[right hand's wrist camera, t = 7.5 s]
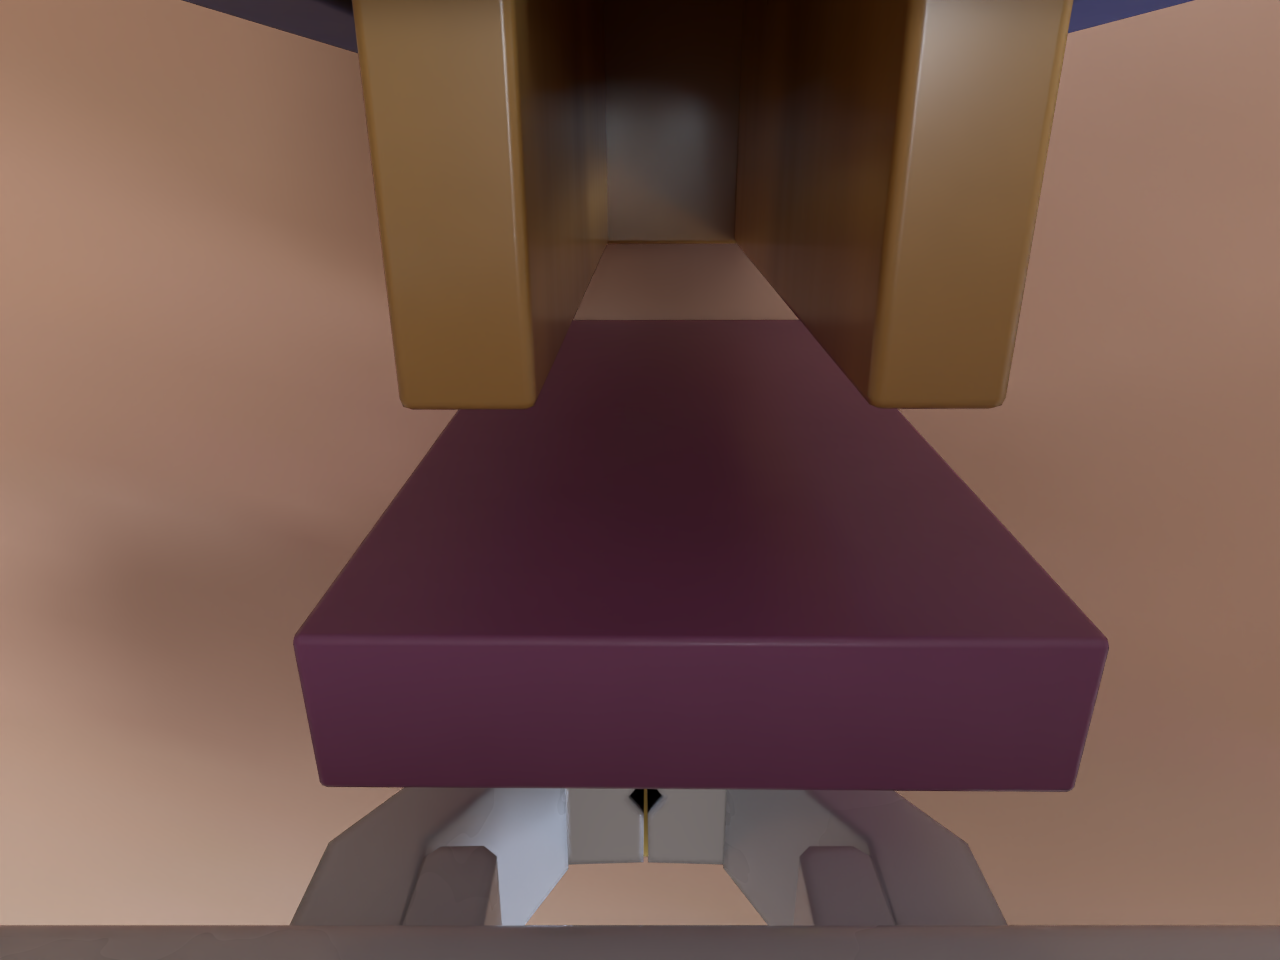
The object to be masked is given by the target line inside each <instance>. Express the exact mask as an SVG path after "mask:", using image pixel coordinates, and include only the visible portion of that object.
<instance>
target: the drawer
mask: <svg viewBox="0 0 1280 960" xmlns="http://www.w3.org/2000/svg"><path fill="white" fill-rule="evenodd" d="M1072 5H1073V0H352V7H353V15H354V23H355V32H356V40H357V48H358V57H359V65H360V73H361V82H362V90H363V98H364V107H365V115H366V123H367V131H368V140H369V148H370V156H371V165H372V173H373V181H374V190H375V198H376V206H377V215H378V223H379V231H380V239H381V248H382V256H383V264H384V273H385V281H386V289H387V298H388V306H389V314H390V323H391V331H392V339H393V348H394V356H395V364H396V372H397V381H398V389H399V397H400V400H401V402H402V404H403V407H406V408H410V409H459V410H458V411H457V412H456V414H455V415H454V417H453V418H452V419H451V421H450V422H449V423H448V425H447V426H446V428H445V429H444V430H443V432H442V433H441V434H440V436H439V437H438V439H437V440H436V441H435V443H434V444H433V445H432V447H431V448H430V450H429V451H428V452H427V454H426V455H425V456H424V458H423V459H422V461H421V462H420V463H419V465H418V466H417V468H416V469H415V470H414V472H413V473H412V474H411V476H410V477H409V479H408V480H407V481H406V483H405V484H404V485H403V487H402V488H401V490H400V491H399V492H398V494H397V495H396V496H395V498H394V499H393V501H392V502H391V503H390V505H389V506H388V507H387V509H386V510H385V512H384V513H383V514H382V516H381V517H380V519H379V520H378V521H377V523H376V524H375V525H374V527H373V528H372V530H371V531H370V532H369V534H368V535H367V536H366V538H365V539H364V541H363V542H362V543H361V545H360V546H359V547H358V549H357V550H356V552H355V553H354V554H353V556H352V557H351V558H350V560H349V561H348V563H347V564H346V565H345V567H344V568H343V569H342V571H341V572H340V574H339V575H338V576H337V578H336V579H335V581H334V582H333V583H332V585H331V586H330V587H329V589H328V590H327V592H326V593H325V594H324V596H323V597H322V598H321V600H320V601H319V603H318V604H317V605H316V607H315V608H314V609H313V611H312V612H311V614H310V615H309V616H308V618H307V619H306V620H305V622H304V623H303V625H302V626H301V627H300V629H299V630H298V632H297V633H296V634H295V636H294V640H293V646H294V651H295V656H296V661H297V666H298V671H299V676H300V682H301V687H302V692H303V697H304V702H305V707H306V712H307V718H308V723H309V728H310V733H311V738H312V743H313V748H314V754H315V759H316V764H317V769H318V774H319V779H320V783H321V784H322V785H324V786H326V787H431V788H579V789H644V855H643V856H648V831H647V789H727V790H875V791H1023V792H1067V791H1070V790H1072V789H1073V788H1074V786H1075V782H1076V778H1077V774H1078V770H1079V766H1080V762H1081V758H1082V754H1083V750H1084V746H1085V742H1086V738H1087V734H1088V730H1089V726H1090V722H1091V718H1092V714H1093V710H1094V706H1095V702H1096V698H1097V694H1098V690H1099V686H1100V682H1101V678H1102V674H1103V670H1104V666H1105V662H1106V658H1107V654H1108V650H1109V644H1108V640H1107V638H1106V637H1105V636H1104V635H1103V633H1102V632H1101V631H1100V630H1099V629H1098V628H1097V627H1096V626H1095V625H1094V624H1093V623H1092V621H1091V620H1090V619H1089V618H1088V617H1087V616H1086V615H1085V614H1084V613H1083V612H1082V611H1081V609H1080V608H1079V607H1078V606H1077V605H1076V604H1075V603H1074V602H1073V601H1072V600H1071V598H1070V597H1069V596H1068V595H1067V594H1066V593H1065V592H1064V591H1063V590H1062V589H1061V588H1060V586H1059V585H1058V584H1057V583H1056V582H1055V581H1054V580H1053V579H1052V578H1051V577H1050V576H1049V574H1048V573H1047V572H1046V571H1045V570H1044V569H1043V568H1042V567H1041V566H1040V565H1039V564H1038V562H1037V561H1036V560H1035V559H1034V558H1033V557H1032V556H1031V555H1030V554H1029V553H1028V551H1027V550H1026V549H1025V548H1024V547H1023V546H1022V545H1021V544H1020V543H1019V542H1018V541H1017V539H1016V538H1015V537H1014V536H1013V535H1012V534H1011V533H1010V532H1009V531H1008V530H1007V529H1006V527H1005V526H1004V525H1003V524H1002V523H1001V522H1000V521H999V520H998V519H997V518H996V517H995V515H994V514H993V513H992V512H991V511H990V510H989V509H988V508H987V507H986V506H985V504H984V503H983V502H982V501H981V500H980V499H979V498H978V497H977V496H976V495H975V494H974V492H973V491H972V490H971V489H970V488H969V487H968V486H967V485H966V484H965V483H964V482H963V480H962V479H961V478H960V477H959V476H958V475H957V474H956V473H955V472H954V471H953V470H952V468H951V467H950V466H949V465H948V464H947V463H946V462H945V461H944V460H943V459H942V457H941V456H940V455H939V454H938V453H937V452H936V451H935V450H934V449H933V448H932V447H931V445H930V444H929V443H928V442H927V441H926V440H925V439H924V438H923V437H922V436H921V435H920V433H919V432H918V431H917V430H916V429H915V428H914V427H913V426H912V425H911V424H910V423H909V421H908V420H907V419H906V418H905V417H904V416H903V415H902V414H901V413H900V412H899V410H898V409H989V408H993V407H997V406H1000V405H1002V403H1003V401H1004V399H1005V398H1006V392H1007V386H1008V380H1009V374H1010V369H1011V363H1012V357H1013V351H1014V345H1015V339H1016V333H1017V328H1018V322H1019V316H1020V310H1021V304H1022V298H1023V292H1024V287H1025V281H1026V275H1027V269H1028V263H1029V257H1030V251H1031V245H1032V240H1033V234H1034V228H1035V222H1036V216H1037V210H1038V204H1039V199H1040V193H1041V187H1042V181H1043V175H1044V169H1045V163H1046V158H1047V152H1048V146H1049V140H1050V134H1051V128H1052V122H1053V117H1054V111H1055V105H1056V99H1057V93H1058V87H1059V81H1060V75H1061V70H1062V64H1063V58H1064V52H1065V46H1066V40H1067V34H1068V29H1069V23H1070V17H1071V11H1072ZM607 244H737V245H738V246H739V247H740V248H741V249H742V251H743V252H744V253H745V254H746V255H747V257H748V258H749V259H750V260H751V262H752V263H753V264H754V265H755V266H756V268H757V269H758V270H759V271H760V272H761V274H762V275H763V276H764V277H765V279H766V280H767V281H768V282H769V283H770V285H771V286H772V287H773V288H774V289H775V291H776V292H777V293H778V294H779V295H780V297H781V298H782V299H783V300H784V302H785V303H786V304H787V305H788V306H789V308H790V309H791V310H792V311H793V312H794V314H795V315H796V316H797V317H798V319H799V320H573V318H574V316H575V314H576V312H577V309H578V307H579V305H580V303H581V300H582V298H583V296H584V294H585V292H586V289H587V287H588V285H589V283H590V280H591V278H592V276H593V274H594V272H595V269H596V267H597V265H598V263H599V260H600V258H601V256H602V254H603V251H604V249H605V247H606V245H607Z"/></svg>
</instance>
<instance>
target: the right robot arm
mask: <svg viewBox="0 0 1280 960" xmlns="http://www.w3.org/2000/svg"><path fill="white" fill-rule="evenodd" d="M647 831H648V862H657V863H692V864H723V868H724V869H725V871H726V872H727V873H728V875H729V876H730V877H731V878H732V880H733V881H734V882H735V883H736V885H737V886H738V887H739V889H740V890H741V891H742V892H743V894H744V895H745V896H746V898H747V899H748V900H749V901H750V903H751V904H752V905H753V906H754V908H755V909H756V910H757V912H758V913H759V914H760V915H761V917H762V918H763V919H764V921H765V922H766V923H767V924H768V925H525V924H526V923H527V922H528V920H529V919H530V918H531V916H532V915H533V914H534V913H535V911H536V910H537V909H538V907H539V906H540V905H541V903H542V902H543V901H544V900H545V898H546V897H547V896H548V894H549V893H550V892H551V891H552V889H553V888H554V887H555V885H556V884H557V883H558V881H559V880H560V879H561V878H562V876H563V875H564V874H565V872H566V871H567V870H568V864H598V863H633V862H643V855H644V789H579V788H431V787H404V788H403V789H402V790H400V791H399V792H398V793H396V794H395V795H393V796H392V797H391V798H389V799H388V800H387V801H385V802H384V803H382V804H381V805H380V806H378V807H377V808H376V809H374V810H373V811H371V812H370V813H369V814H367V815H366V816H365V817H363V818H362V819H360V820H359V821H358V822H356V823H355V824H354V825H352V826H351V827H350V828H348V829H347V830H345V831H344V832H343V833H341V834H340V835H339V836H337V837H336V838H334V839H333V840H332V841H330V842H329V843H328V846H327V848H326V850H325V852H324V854H323V856H322V858H321V860H320V862H319V864H318V867H317V869H316V871H315V873H314V875H313V877H312V879H311V881H310V883H309V886H308V888H307V890H306V892H305V894H304V896H303V898H302V900H301V902H300V904H299V907H298V909H297V911H296V913H295V915H294V917H293V919H292V921H291V923H290V925H0V960H1280V926H1270V925H1007V923H1006V921H1005V919H1004V917H1003V915H1002V913H1001V911H1000V909H999V907H998V904H997V902H996V900H995V898H994V896H993V894H992V892H991V890H990V888H989V886H988V884H987V882H986V880H985V878H984V876H983V874H982V872H981V870H980V868H979V866H978V864H977V862H976V860H975V858H974V856H973V854H972V852H971V850H970V848H969V846H968V844H967V843H966V842H964V841H963V840H962V839H960V838H959V837H957V836H956V835H955V834H953V833H952V832H951V831H949V830H948V829H946V828H945V827H944V826H942V825H941V824H939V823H938V822H937V821H935V820H934V819H932V818H931V817H930V816H928V815H927V814H925V813H924V812H923V811H921V810H920V809H918V808H917V807H916V806H914V805H913V804H912V803H910V802H909V801H907V800H906V799H905V798H903V797H902V796H900V795H899V794H898V793H896V792H895V791H875V790H727V789H647Z"/></svg>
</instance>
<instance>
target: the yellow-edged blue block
mask: <svg viewBox="0 0 1280 960" xmlns="http://www.w3.org/2000/svg"><path fill="white" fill-rule="evenodd" d="M183 1H186V2H190V3H193V4H196V5H200V6H203V7H206V8H210V9H213V10H216V11H219V12H223V13H226V14H229V15H233V16H236V17H239V18H243V19H246V20H249V21H253V22H256V23H259V24H263V25H266V26H269V27H273V28H276V29H279V30H283V31H286V32H289V33H293V34H296V35H299V36H303V37H306V38H309V39H313V40H316V41H319V42H322V43H326V44H329V45H332V46H336V47H339V48H342V49H346V50H349V51H352V52H356V53H358V48H357V40H356V32H355V23H354V15H353V7H352V0H183ZM1189 1H1193V0H1073V5H1072V11H1071V17H1070V23H1069V29H1068V33H1071V32H1075V31H1078V30H1082V29H1086V28H1090V27H1094V26H1098V25H1101V24H1105V23H1109V22H1113V21H1117V20H1120V19H1124V18H1128V17H1132V16H1136V15H1140V14H1143V13H1147V12H1151V11H1155V10H1159V9H1162V8H1166V7H1170V6H1174V5H1178V4H1182V3H1185V2H1189Z"/></svg>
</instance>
